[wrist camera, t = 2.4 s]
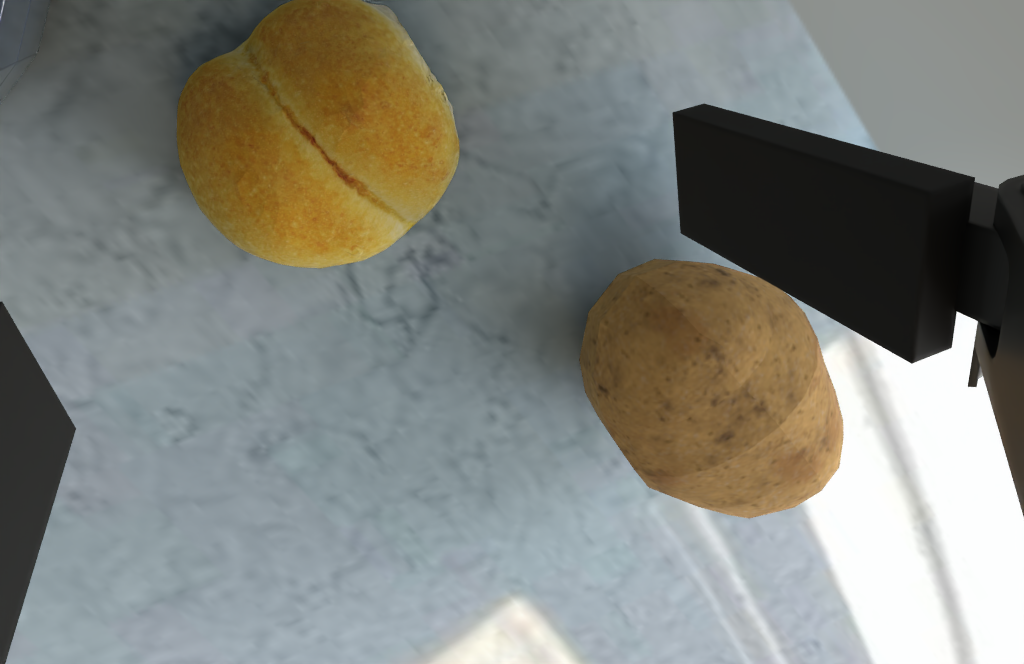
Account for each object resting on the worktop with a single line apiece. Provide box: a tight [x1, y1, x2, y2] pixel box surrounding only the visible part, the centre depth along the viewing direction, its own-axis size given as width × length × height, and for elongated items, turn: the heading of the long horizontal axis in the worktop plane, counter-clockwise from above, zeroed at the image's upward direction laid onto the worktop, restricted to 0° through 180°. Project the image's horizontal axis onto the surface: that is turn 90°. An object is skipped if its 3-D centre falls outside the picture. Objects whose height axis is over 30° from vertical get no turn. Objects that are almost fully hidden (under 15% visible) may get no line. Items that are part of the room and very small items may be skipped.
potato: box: [579, 259, 843, 518], centre depth 31 cm, size 10×14×8 cm
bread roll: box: [177, 0, 460, 268], centre depth 24 cm, size 8×9×4 cm
